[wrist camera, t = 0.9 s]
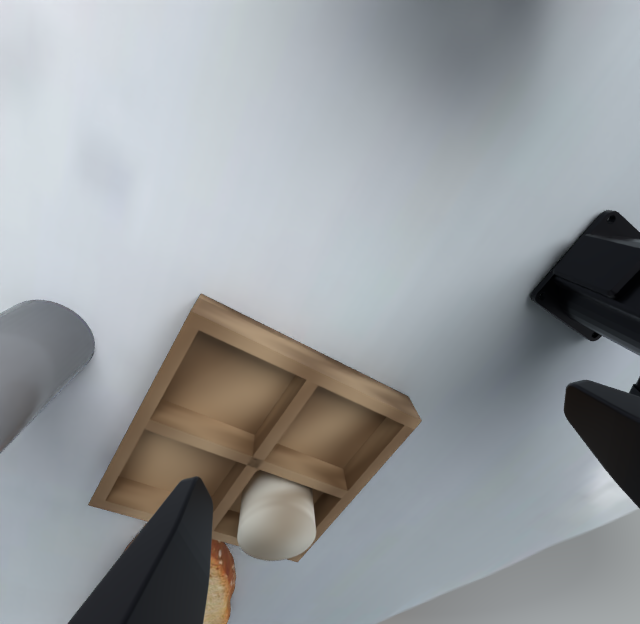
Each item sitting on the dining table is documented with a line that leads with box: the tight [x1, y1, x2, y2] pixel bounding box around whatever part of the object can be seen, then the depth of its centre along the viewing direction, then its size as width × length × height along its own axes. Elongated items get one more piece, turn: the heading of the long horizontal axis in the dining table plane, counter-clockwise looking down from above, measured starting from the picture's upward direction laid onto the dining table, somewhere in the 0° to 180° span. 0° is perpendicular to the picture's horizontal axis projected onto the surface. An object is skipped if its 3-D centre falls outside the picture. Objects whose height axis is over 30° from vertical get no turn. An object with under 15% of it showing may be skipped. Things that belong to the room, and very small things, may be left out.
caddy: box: [88, 294, 422, 562], centre depth 22 cm, size 16×16×4 cm
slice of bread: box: [124, 533, 236, 624], centre depth 29 cm, size 18×18×4 cm
